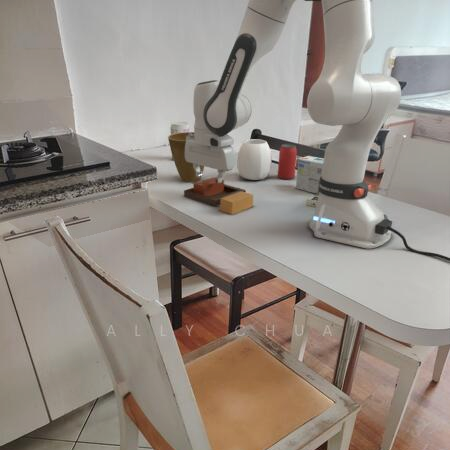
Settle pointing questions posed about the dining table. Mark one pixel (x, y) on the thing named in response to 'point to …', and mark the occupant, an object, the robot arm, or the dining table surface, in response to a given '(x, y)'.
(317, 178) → the light bulb box
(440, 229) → the dining table surface
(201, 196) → the dark brown square tray
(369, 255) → the dining table surface
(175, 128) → the supplement can
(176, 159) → the plant pot
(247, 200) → the orange rectangular block
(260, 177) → the white faceted vase
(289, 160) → the beer can
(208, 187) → the reddish brown rectangular block
